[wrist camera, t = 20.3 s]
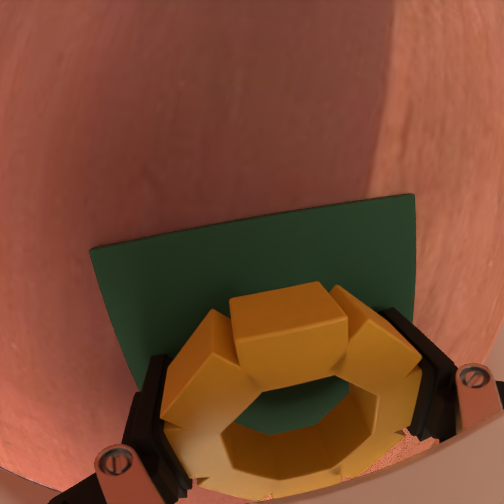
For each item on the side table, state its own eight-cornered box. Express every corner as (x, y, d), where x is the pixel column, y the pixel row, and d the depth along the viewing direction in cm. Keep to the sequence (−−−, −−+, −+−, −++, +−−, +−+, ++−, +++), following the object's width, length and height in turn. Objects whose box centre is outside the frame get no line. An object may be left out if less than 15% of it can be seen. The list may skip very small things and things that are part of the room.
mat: (179, 463, 13) (179, 467, 12) (91, 248, 9) (88, 250, 9) (395, 416, 13) (398, 420, 13) (410, 193, 10) (414, 194, 10)
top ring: (204, 467, 10) (205, 510, 8) (141, 312, 8) (122, 356, 6) (380, 427, 11) (401, 463, 9) (395, 262, 9) (438, 290, 7)
